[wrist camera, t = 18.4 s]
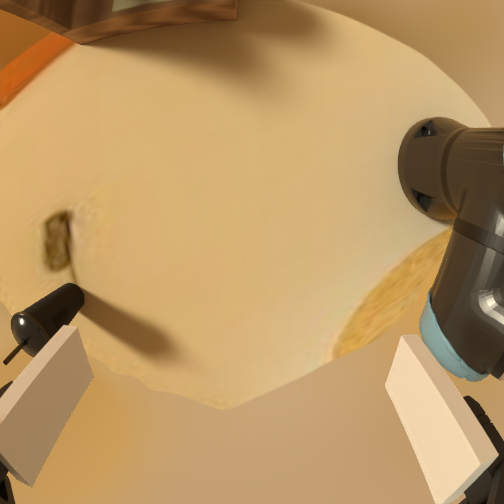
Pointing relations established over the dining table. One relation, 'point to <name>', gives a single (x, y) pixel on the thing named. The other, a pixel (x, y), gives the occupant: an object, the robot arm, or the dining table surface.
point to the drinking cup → (45, 319)
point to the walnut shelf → (116, 15)
